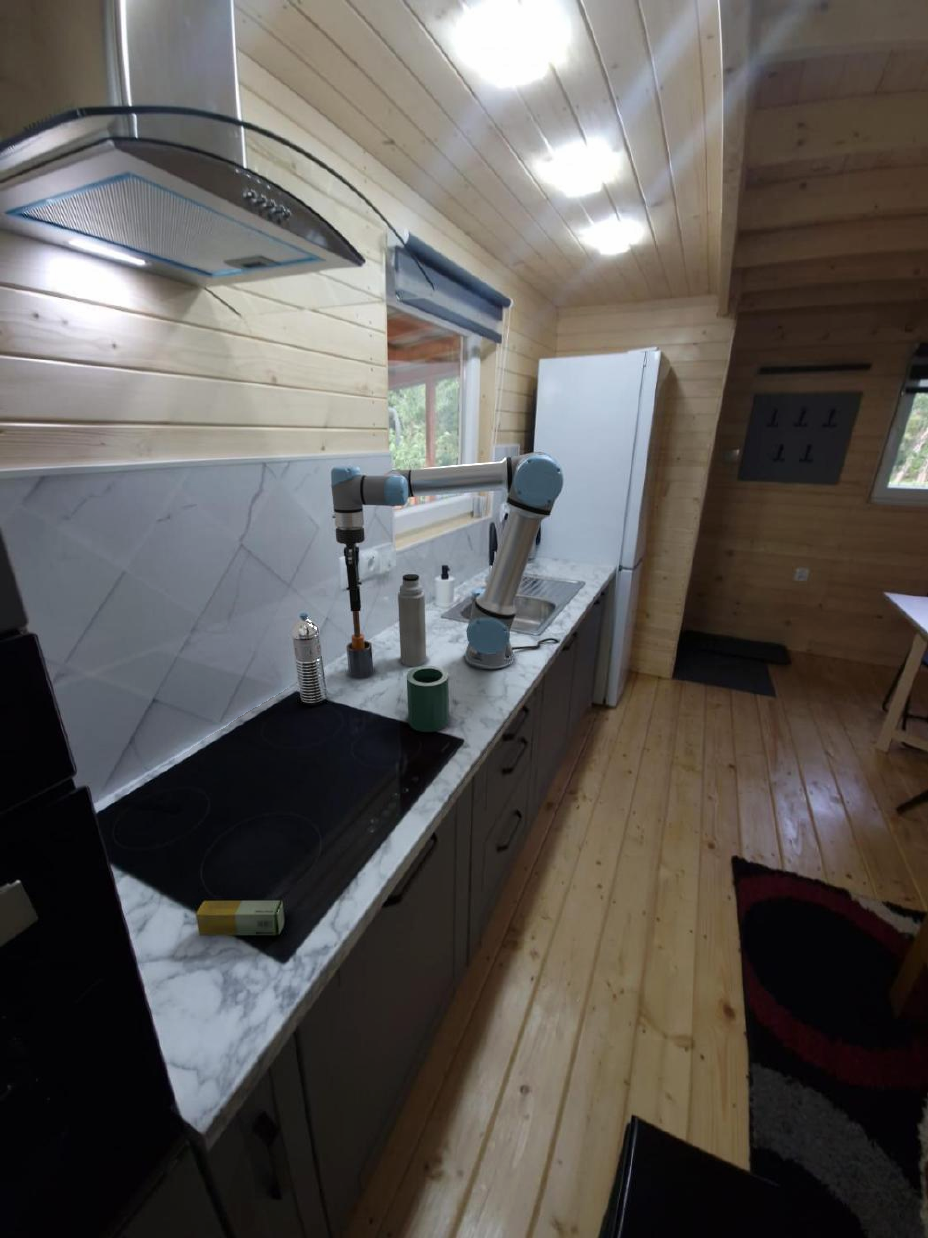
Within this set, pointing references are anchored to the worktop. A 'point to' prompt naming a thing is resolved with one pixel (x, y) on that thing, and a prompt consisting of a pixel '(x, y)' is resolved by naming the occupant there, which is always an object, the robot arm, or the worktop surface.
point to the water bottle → (309, 661)
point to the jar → (428, 698)
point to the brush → (357, 633)
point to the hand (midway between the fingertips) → (355, 609)
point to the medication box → (240, 918)
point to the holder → (360, 661)
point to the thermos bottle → (412, 621)
